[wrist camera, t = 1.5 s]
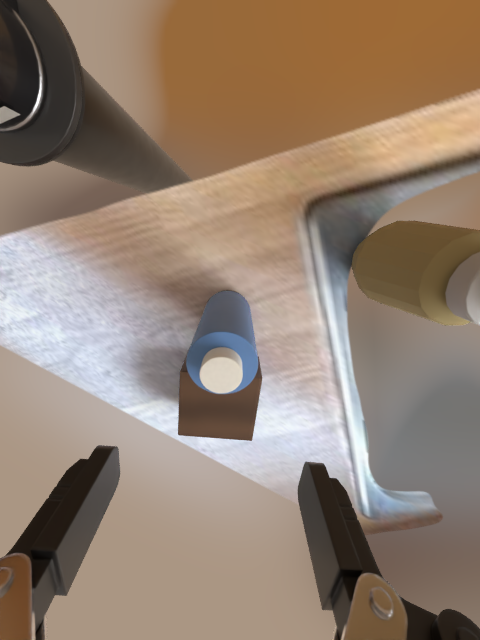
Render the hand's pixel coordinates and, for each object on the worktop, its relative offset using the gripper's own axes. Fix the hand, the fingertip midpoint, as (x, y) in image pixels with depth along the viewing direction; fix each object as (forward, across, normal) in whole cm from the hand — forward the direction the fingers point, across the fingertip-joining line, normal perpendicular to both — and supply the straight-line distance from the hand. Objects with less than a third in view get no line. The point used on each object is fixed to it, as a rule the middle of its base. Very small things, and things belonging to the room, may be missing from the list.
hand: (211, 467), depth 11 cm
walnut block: (+21, 0, +10) cm, 23 cm away
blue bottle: (+20, 0, 0) cm, 21 cm away
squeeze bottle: (+21, -16, -8) cm, 27 cm away
